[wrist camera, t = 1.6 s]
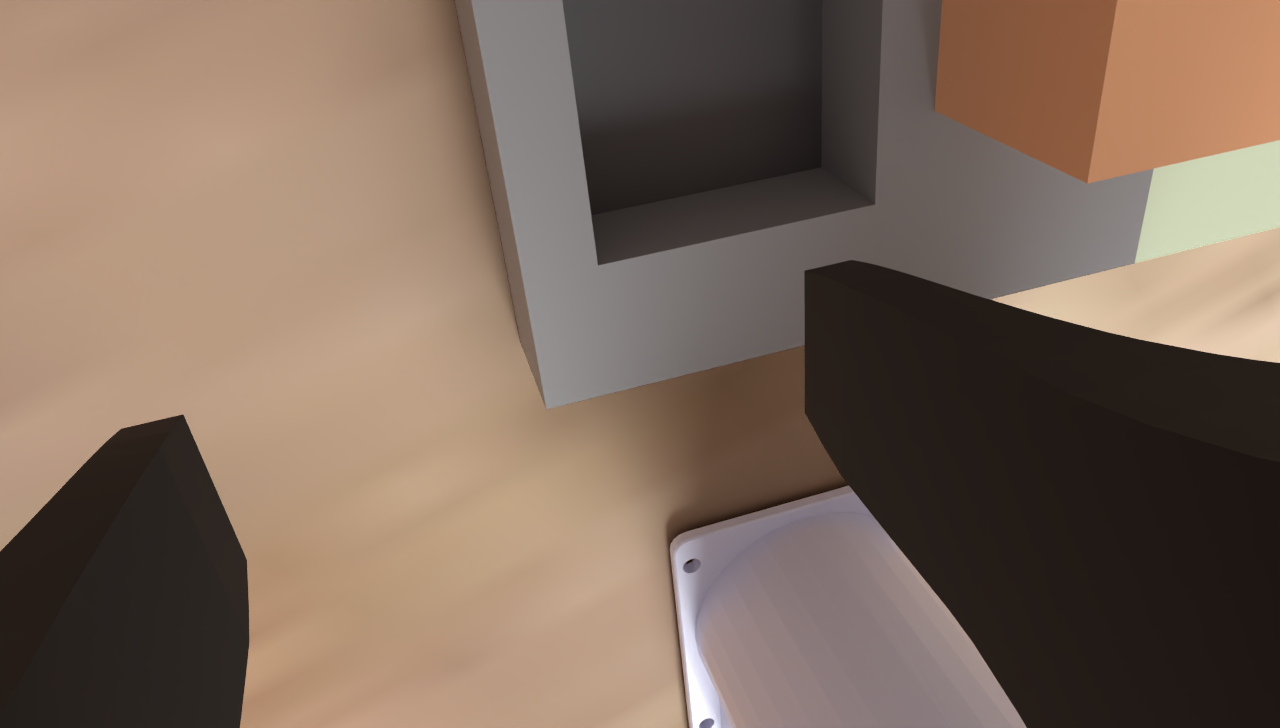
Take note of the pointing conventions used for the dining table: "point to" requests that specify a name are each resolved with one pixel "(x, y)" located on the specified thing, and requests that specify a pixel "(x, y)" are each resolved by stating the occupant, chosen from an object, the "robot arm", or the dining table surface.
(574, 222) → the trap deck
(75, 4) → the dining table surface
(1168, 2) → the block
